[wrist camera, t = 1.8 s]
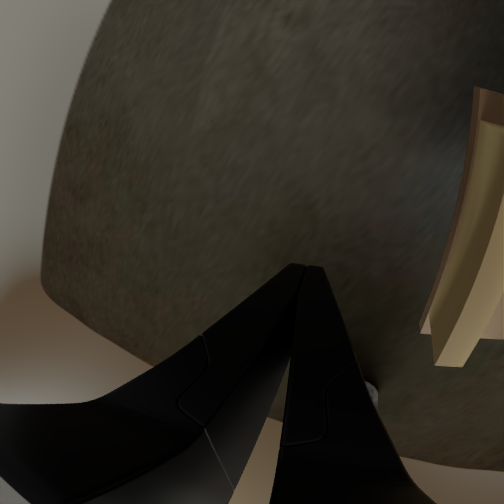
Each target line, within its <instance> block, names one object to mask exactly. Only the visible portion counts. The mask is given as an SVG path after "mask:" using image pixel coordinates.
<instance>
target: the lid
mask: <svg viewBox="0 0 504 504" xmlns="http://www.w3.org/2000/svg"><path fill="white" fill-rule="evenodd" d="M419 327H420V333H422V334H431V337H432V345H433V355H434V365H435V366H452V367H463V365H464V364H465V362H466V360H467V359H468V357H469V355H470V354H471V352H472V351H473V349H474V347H475V345H476V344H477V342H478V340H479V339H480V338H487V339H504V94H501V93H498V92H495V91H491V90H488V89H484V88H480V87H476V86H474V92H473V104H472V114H471V123H470V131H469V139H468V146H467V152H466V158H465V164H464V170H463V175H462V180H461V185H460V190H459V195H458V199H457V204H456V208H455V212H454V216H453V220H452V224H451V228H450V232H449V235H448V239H447V243H446V246H445V250H444V253H443V256H442V260H441V263H440V266H439V269H438V272H437V275H436V278H435V281H434V284H433V287H432V290H431V293H430V296H429V299H428V301H427V304H426V307H425V309H424V312H423V315H422V317H421V320H420V322H419Z"/></svg>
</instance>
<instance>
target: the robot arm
mask: <svg viewBox="0 0 504 504" xmlns="http://www.w3.org/2000/svg"><path fill="white" fill-rule="evenodd" d="M290 357H291V359H290ZM289 360H290V368H289V377H288V386H287V394H286V402H285V410H284V418H283V426H282V433H281V440H280V450H279V454H278V461H277V467H276V473H275V478H274V483H273V488H272V493H271V498H270V502H269V504H436V503H435V502H434V501H433V500H432V499H431V498H429V497H428V496H427V495H426V494H425V493H424V492H423V491H422V490H421V489H420V488H419V487H418V486H417V485H416V484H415V483H414V482H413V480H412V479H411V477H410V476H409V474H408V472H407V471H406V469H405V467H404V465H403V463H402V461H401V459H400V457H399V455H398V453H397V451H396V449H395V446H394V444H393V442H392V440H391V438H390V436H389V434H388V432H387V430H386V428H385V426H384V424H383V422H382V420H381V418H380V416H379V413H378V411H377V409H376V407H375V405H374V402H373V400H372V398H371V396H370V393H369V391H368V388H367V385H366V383H365V380H364V377H363V374H362V371H361V369H360V366H359V363H357V362H358V360H357V357H356V354H355V352H354V349H353V346H352V343H351V340H350V337H349V335H348V332H347V329H346V326H345V324H344V321H343V318H342V315H341V313H340V310H339V307H338V305H337V302H336V299H335V297H334V294H333V291H332V289H331V286H330V283H329V281H328V278H327V276H326V273H325V271H324V268H323V267H320V266H312V265H309V266H307V267H306V265H304V264H296V263H290V264H289V265H287V266H286V267H285V268H284V269H282V270H281V271H280V272H279V273H277V274H276V275H275V276H274V277H273V278H271V279H270V280H269V281H268V282H266V283H265V284H264V285H263V286H261V287H260V288H259V289H258V290H256V291H255V292H254V293H253V294H251V295H250V296H249V297H248V298H246V299H245V300H244V301H243V302H241V303H240V304H239V305H238V306H236V307H235V308H234V309H232V310H231V311H230V312H229V313H227V314H226V315H225V316H224V317H222V318H221V319H220V320H218V321H217V322H216V323H215V324H213V325H212V326H211V327H210V328H208V329H207V330H206V331H204V332H203V333H202V336H201V335H199V336H198V337H196V338H195V339H194V340H193V341H191V342H190V343H189V344H187V345H186V346H184V347H183V348H182V349H180V350H179V351H178V352H176V353H175V354H173V355H172V356H170V357H169V358H167V359H166V360H164V361H163V362H161V363H159V364H158V365H156V366H155V367H153V368H152V369H150V370H148V371H146V372H145V373H143V374H141V375H139V376H138V377H136V378H134V379H133V380H131V381H129V382H127V383H126V384H124V385H122V386H121V387H119V388H117V389H115V390H114V391H112V392H110V393H108V394H106V395H104V396H102V397H100V398H97V399H95V400H91V401H88V402H82V403H70V404H2V403H0V504H228V503H229V501H230V499H231V497H232V495H233V492H234V491H233V490H234V489H235V488H236V486H237V484H238V482H239V480H240V477H241V475H242V473H243V471H244V469H245V466H246V464H247V462H248V460H249V457H250V455H251V453H252V451H253V448H254V446H255V444H256V441H257V439H258V437H259V434H260V432H261V430H262V427H263V425H264V423H265V420H266V418H267V415H268V413H269V411H270V408H271V406H272V403H273V401H274V398H275V396H276V393H277V391H278V388H279V386H280V383H281V380H282V378H283V375H284V373H285V370H286V367H287V365H288V362H289Z"/></svg>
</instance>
